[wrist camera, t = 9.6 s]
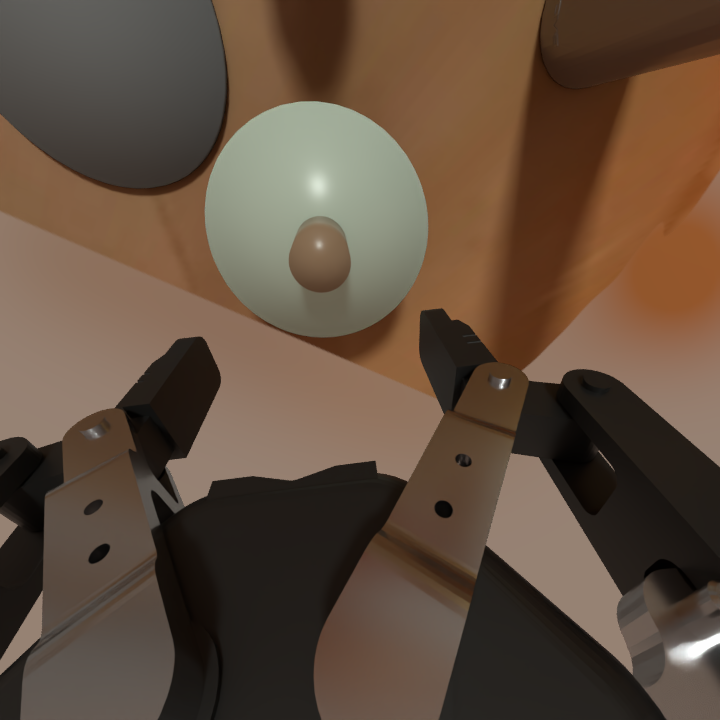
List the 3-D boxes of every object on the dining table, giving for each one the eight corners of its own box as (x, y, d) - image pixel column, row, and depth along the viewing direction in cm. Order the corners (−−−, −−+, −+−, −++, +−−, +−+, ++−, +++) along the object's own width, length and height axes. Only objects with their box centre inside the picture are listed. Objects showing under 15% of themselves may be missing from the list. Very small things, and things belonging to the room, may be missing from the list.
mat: (159, -218, 17) (154, -229, 16) (256, 176, 28) (255, 176, 27) (-191, -193, 16) (-207, -203, 16) (49, 198, 27) (44, 199, 27)
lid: (429, 90, 19) (464, 69, 15) (421, 321, 29) (440, 355, 24) (168, 117, 19) (112, 105, 14) (248, 342, 29) (232, 380, 24)
